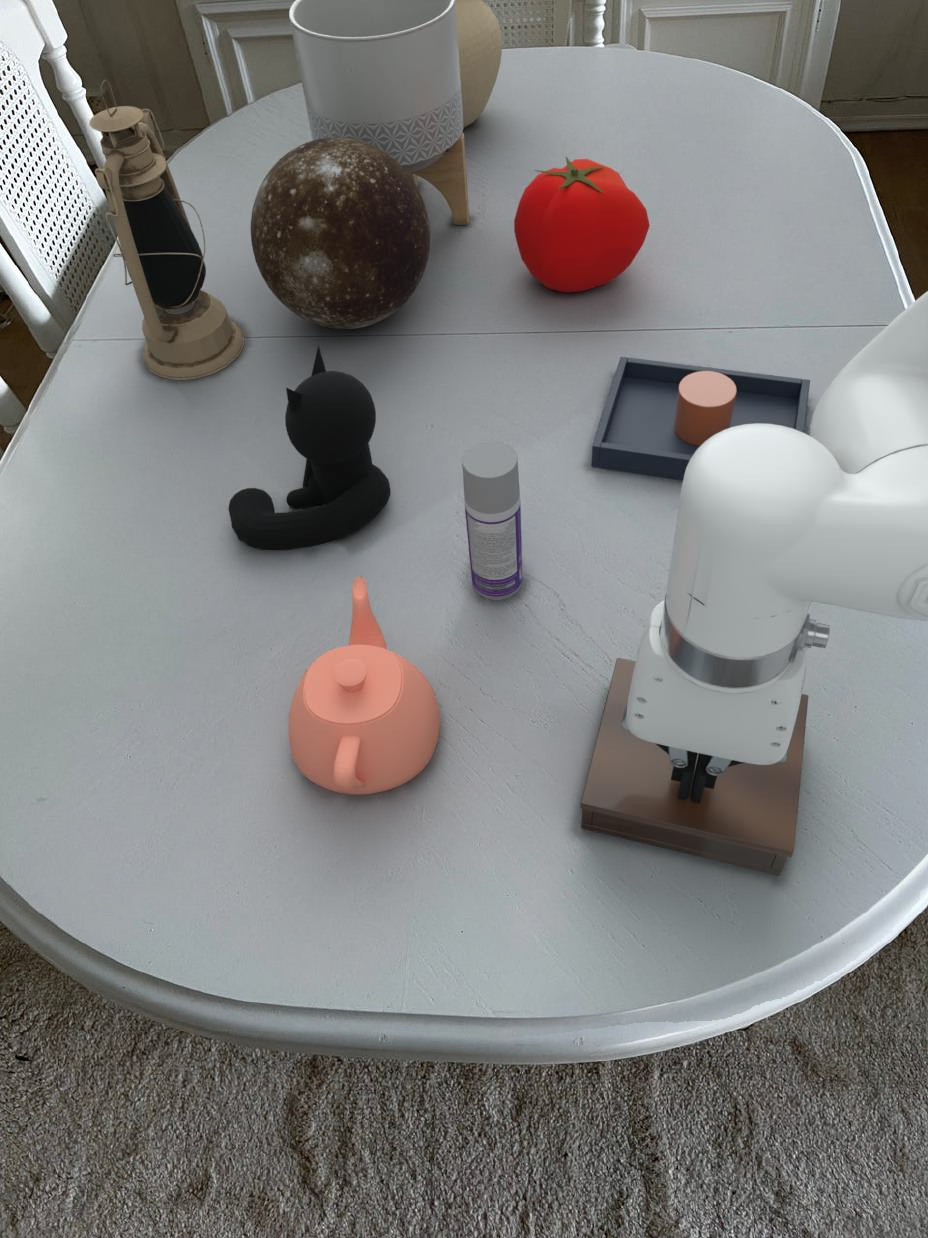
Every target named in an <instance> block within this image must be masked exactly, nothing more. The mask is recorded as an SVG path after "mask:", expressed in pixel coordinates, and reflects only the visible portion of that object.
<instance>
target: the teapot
mask: <svg viewBox="0 0 928 1238" xmlns="http://www.w3.org/2000/svg"><path fill="white" fill-rule="evenodd" d="M351 588H352V589H351V600H352V601H351V602H352V607H351V609H352V613H351V623H350V632H349V640H348V642H349V643H348V645H343V646H339V647H336V648H332V649H330V650H328V651H326V652H324V653H323V654H321V655H319V656H318V657H317V658H316V659H315V660H314V661H313V662H312V663H311V664H310V665H309V666H308V667H307V669H306V670H305V672H304V673H303V675H302V677H301V678H300V680H299V682H298V685H297V686H296V689H295V691H294V694H293V696H292V700H291V704H290V709H289V713H288V741H289V748H290V753H291V756H292V758H293V761H294V764H295V765H296V767H297V769H298V770H299V771H300V772H301V774H302V775H303V776H305V777H306V778H307V779H308V780H309V781H311V782H312V783H314V784H316V785H318V786H319V787H321V788H324V789H325V790H328V791H332V792H335V793H339V794H345V795H357V796H358V795H372V794H378V793H382V792H386V791H388V790H392V789H395V788H398V787H401V786H402V785H404V784H406V783H408V782H410V781H411V780H412V779H414V778H416V777H417V776H418V775H419V774H420V773H421V772H422V771H423V770H424V769H425V768H426V767H427V765H428V764H429V762H430V761H431V759H432V757H433V755H434V753H435V751H436V748H437V745H438V742H439V737H440V731H441V715H440V707H439V703H438V700H437V697H436V693H435V691H434V689H433V687H432V686H431V683H430V681H429V680H428V679H427V677H426V676H425V674H424V673H423V672H422V671H421V670H420V669H419V667H417V666H416V665H415V664H414V663H413V662H411V661H409V660H408V659H406V658H405V657H404V656H402V655H400V654H398V653H396V652H393V651H391V650H389V649H388V646H387V642H386V639H385V635H384V633H383V631H382V629H381V627H380V625H379V622H378V620H377V619H376V616H375V614H374V612H373V610H372V607H371V606H372V605H371V603H370V599H369V590H368V584H367V582H366V579H365V578H364V577H362V576H357V577H356V578H355V579H354V580H353V583H352V587H351Z"/></svg>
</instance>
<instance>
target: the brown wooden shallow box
mask: <svg viewBox="0 0 928 1238" xmlns="http://www.w3.org/2000/svg"><path fill="white" fill-rule="evenodd" d="M580 829H581V830H582V829H583V830H587V831H591V832H595V833H600V834H604V835H608V836H612V837H616V838H621V839H625V840H627V841H632V842H636V843H641V844H645V845H648V846H649V845H650V846H653V847H654V846H655V847H659V848H663V849H667V850H671V851H675V852H679V853H683V854H687V855H692V856H696V857H700V858H705V859H709V860H713V861H717V862H720V863H721V862H722V863H726V864H729V865H733V866H738V867H742V868H746V869H751V870H756V871H760V872H764V873H767V874H772V875H775V876H781V874H782V872H783V870H784V867H785V865H786V863H787V861H788V859H789V857H786V856H781V855H777V854H773V853H769V852H764V851H760V850H756V849H751V848H747V847H743V846H739V845H734V844H730V843H726V842H721V841H717V840H713V839H708V838H704V837H700V836H696V835H691V834H687V833H683V832H678V831H674V830H670V829H666V828H661V827H657V826H653V825H648V824H644V823H640V822H635V821H631V820H627V819H623V818H618V817H614V816H610V815H605V814H601V813H597V812H593V811H588V810H584V809H581V821H580Z"/></svg>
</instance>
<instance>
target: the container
mask: <svg viewBox="0 0 928 1238" xmlns="http://www.w3.org/2000/svg"><path fill="white" fill-rule="evenodd" d="M518 460H519V459H518V453H517V451H516V450H515V448H513V446H512V445H510V444H509V443H506V442H504V441H501V440H495V439H494V440H493V439H492V440H491V439H489V440H482V441H479V442H475V443H474V444H472V445H470V446H469V447H468V448H467V449H466V450H464V452H463V455H462V458H461V465H462V478H463V479H462V481H463V499H464V500H463V501H464V512H465V523H466V533H467V544H468V545H467V546H468V554H469V555H468V556H469V566H470V575H471V576H470V577H471V584H472V587H473V591H475V592H476V593H477V594H478V595H479V596H480V597H482V598H485V599H487V600H491V601H492V600H493V601H502V600H506V599H509V598H511V597H513V596H515V595H516V594H517V593H518V592H519V591H520V589H521V588H522V585H523V582H524V581H523V579H524V578H523V577H524V576H523V573H524V572H523V545H522V544H523V542H522V507H521V494H520V493H521V491H520V478H519V477H520V475H519V473H520V472H519V461H518Z"/></svg>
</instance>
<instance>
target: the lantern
mask: <svg viewBox="0 0 928 1238" xmlns="http://www.w3.org/2000/svg"><path fill="white" fill-rule="evenodd" d="M104 83H107V84H108V86H109V89H110V92H111V95H112V100H113V103H114V106H112V107H111V108H108V105H107V103H106V100H105V98H104V94H103V85H104ZM100 95H101V98H102V101H103V103H104V106H105V108H106V109H104V110H102V111H99V112H98V113H96V114H94V115H93V116H92V117H91V119H89V123H88V124H89V126H90V128H91V129H92V130H95V131H96V132H97V131H98V132H100V134H101V136H102V137H101V139H100V142H99V144H100V147H101V151H102V154H103V156H104V158H105V162H104V165H103V167H102V168H95V170H94V173H95V175H96V182H97V184H98V187H100V189H103V190H105V194H106V199H107V203H108V207H109V210H110V211H108V212H105V220H106V222H107V225H108V227H109V230H110V231H111V233H112V235H113V238H114V240H115V241H116V244H117V246H118V248H119V251H120V253H114V254H113V255H112V257H113V258H122V260H123V269H124V276H125V277H124V285H125V286H129V285H131V284H132V286H133V289H134V292H135V295H136V298H137V301H138V303H139V306H140V309H141V312H142V315H143V320H142V323H141V324H142V325H141V330H142V331H141V332H142V333H143V336H144V339H145V341H146V343H145V345H144V348H143V357H142V359H143V361H142V362H143V363H144V365H145V366H146V368H147V369H148V370H149V372H151V373H152V374H154V375H156V376H158V377H160V378H162V379H167V380H173V381H185V380H186V381H187V380H197V379H201V378H203V377H208V376H212V375H214V374H216V373H217V372H220V371H221V370H223V369H225V368H227V367H229V366H230V365H231V364H232V363H233V362H234V361H235V360H236V359H237V358H238V357H239V356H240V355H241V353H242V351H243V349H244V347H245V335H244V331H242V330H241V328H240V327H239V325H238V324H236V323H235V322H234V321H233V320H231V319H230V318H229V314H228V311H227V307H226V306H225V304H223V302H222V300H220V299H218V298H217V297H215V296H213V295H212V294H210V293H209V292H206V291H205V290H202V289H203V286H204V283H205V279H206V275H207V267H206V263H205V256H206V255H205V254H206V237H205V232H204V231H205V230H204V226H203V223H202V219H201V217H200V215H199V213H198V211H197V209H196V208H195V207H194V206H193V205H192V204H191V203H190V202H188V201H186V200H182V199H181V196H180V193H179V190H178V188H177V186H176V183H175V181H174V180H175V179H174V177H173V175H172V172H171V170H170V167H169V164H168V161H167V160H166V156H165V155H164V152H163V151H165V141H164V139H163V136H162V133H161V131H160V128H159V126H158V123H157V121H156V118H155V115H154V113H153V112H152V111H151V110H150V109H149V108H142V109H141V108H139V107H136V106H131V105H123V106H122V105H121V106H117V102H116V99H115V95H114V92H113V89H112V86H111V84H110V81H108V80H107V79H104V80H103V81H102V82H101V83H100ZM156 130H157V132H158V135H159V138H160V141H161V144H162V147H161V145H160V143H159V141H158V139H157V137H156V135H155V131H156ZM183 203H185V204H187V205H189V206H190V207H192V209H193V210H194V211H195V214H196V216H197V218H198V220H199V224H200V227H201V231H202V237H203V238H202V239H203V253H202V249H201V247H200V244H199V242H198V240H197V238H196V236H195V234H194V231H193V229H192V228H191V224H190V221H189V218H188V216H187V213H186V210H185V208H184V205H183ZM109 215H111V218H112V221H113V224H114V228H115V232H116V234H115V232H114V229H113V227H112V224H111V222H110V220H109ZM127 272H128V273H127ZM128 275H129V278H130V280H131V281H129V282H128Z"/></svg>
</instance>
